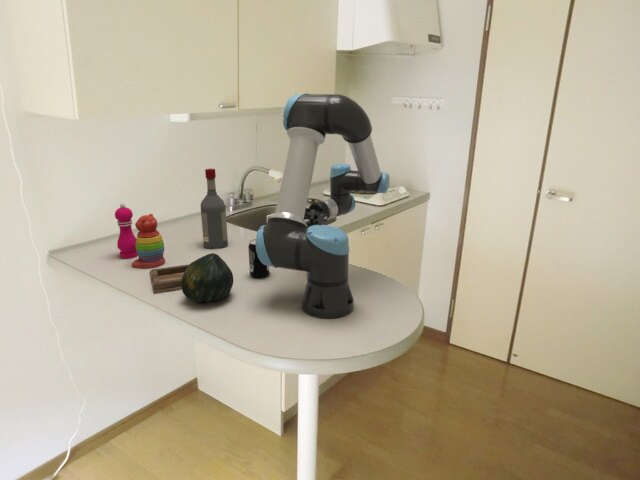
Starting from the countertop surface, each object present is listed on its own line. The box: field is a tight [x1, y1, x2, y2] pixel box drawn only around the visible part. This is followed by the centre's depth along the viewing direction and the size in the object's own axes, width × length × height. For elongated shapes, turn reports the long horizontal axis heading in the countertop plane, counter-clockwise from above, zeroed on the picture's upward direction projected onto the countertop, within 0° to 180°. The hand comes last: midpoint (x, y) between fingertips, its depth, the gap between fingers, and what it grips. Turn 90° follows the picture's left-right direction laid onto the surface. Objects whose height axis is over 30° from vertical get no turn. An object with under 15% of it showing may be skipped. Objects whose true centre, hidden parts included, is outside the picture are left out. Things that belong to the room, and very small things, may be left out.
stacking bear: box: [131, 213, 166, 269], centre depth 171 cm, size 11×10×18 cm
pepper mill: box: [114, 202, 138, 260], centre depth 177 cm, size 7×7×20 cm
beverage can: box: [247, 238, 270, 279], centre depth 161 cm, size 7×7×12 cm
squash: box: [181, 252, 234, 303], centre depth 145 cm, size 14×15×15 cm
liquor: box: [200, 168, 229, 250], centre depth 187 cm, size 9×9×30 cm
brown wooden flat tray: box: [149, 263, 190, 294], centre depth 160 cm, size 18×16×3 cm
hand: (280, 223), depth 165 cm, fingers open, 13 cm apart
